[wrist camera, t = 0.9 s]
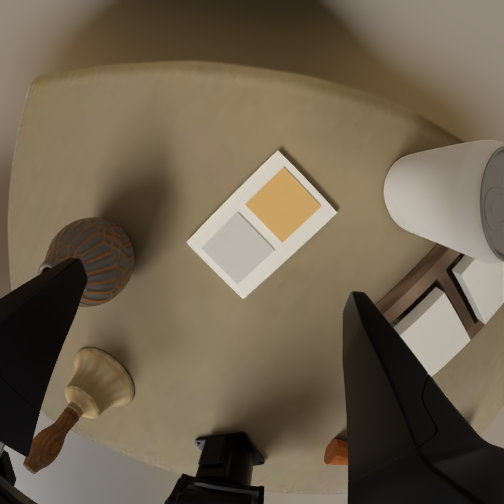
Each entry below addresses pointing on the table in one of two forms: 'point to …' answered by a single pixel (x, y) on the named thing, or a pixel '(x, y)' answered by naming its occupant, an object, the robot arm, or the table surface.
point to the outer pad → (481, 285)
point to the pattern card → (261, 225)
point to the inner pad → (433, 331)
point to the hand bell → (82, 402)
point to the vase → (95, 257)
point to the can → (452, 197)
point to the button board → (421, 280)
